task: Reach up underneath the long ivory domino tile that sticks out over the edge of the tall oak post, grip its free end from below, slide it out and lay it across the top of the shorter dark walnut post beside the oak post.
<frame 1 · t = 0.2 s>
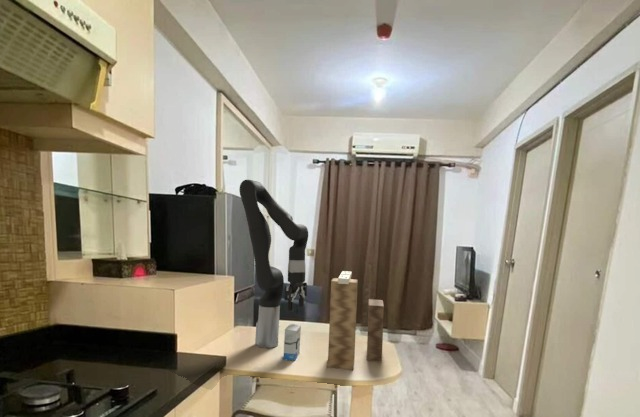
hand: (295, 308, 144), 18 cm above the table, tool pointing down, fingers open, 8 cm apart
long ivory domino tile: (345, 279, 138), point 32 cm above the table, touching oak post
ink box: (291, 356, 137), on the table
walnut post: (374, 355, 142), on the table
oak post: (341, 361, 134), on the table
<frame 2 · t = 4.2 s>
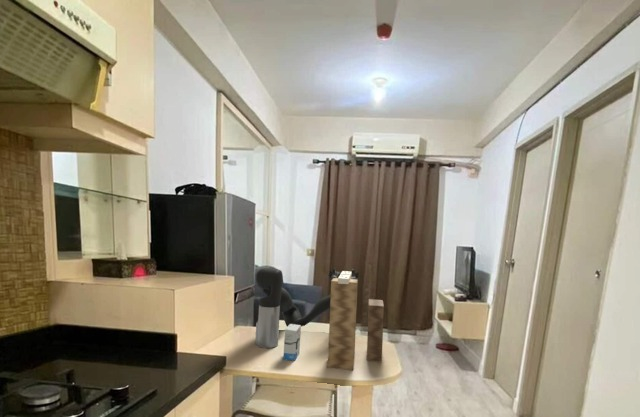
hand: (343, 270, 158), 33 cm above the table, tool pointing upward, fingers open, 8 cm apart
nothing on the table moved.
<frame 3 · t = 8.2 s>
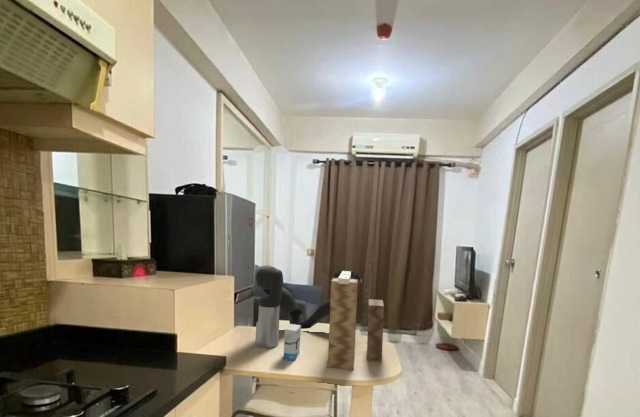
hand: (346, 272, 143), 34 cm above the table, tool pointing upward, fingers closed on long ivory domino tile, 4 cm apart
long ivory domino tile: (345, 279, 138), point 32 cm above the table, touching gripper, oak post
everything else where it was.
when the fingers open (27 cm above the table, at t = 14.6 s): long ivory domino tile drops 3 cm, resting on walnut post.
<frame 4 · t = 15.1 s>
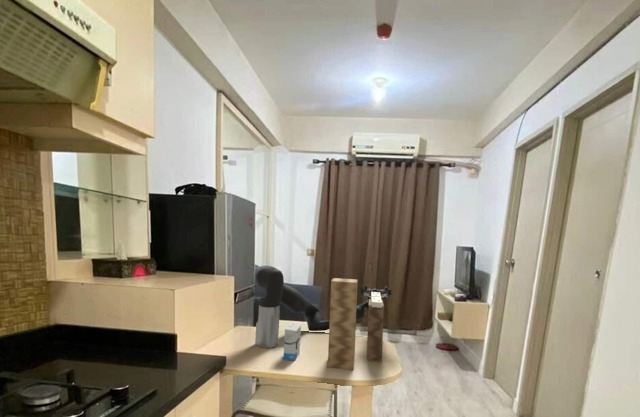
hand: (376, 288, 151), 27 cm above the table, tool pointing upward, fingers open, 8 cm apart
long ivory domino tile: (376, 301, 146), point 22 cm above the table, touching walnut post
everything else where it was.
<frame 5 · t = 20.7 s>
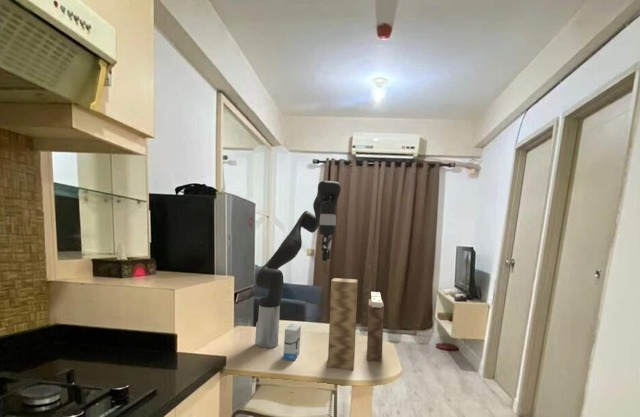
hand: (326, 259, 154), 38 cm above the table, tool pointing down, fingers open, 8 cm apart
nothing on the table moved.
at the end: long ivory domino tile inside the target area on the walnut post (0.2 cm from its centre), point 22.0 cm above the walnut post's base; long ivory domino tile touching walnut post; the gripper is holding nothing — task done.
